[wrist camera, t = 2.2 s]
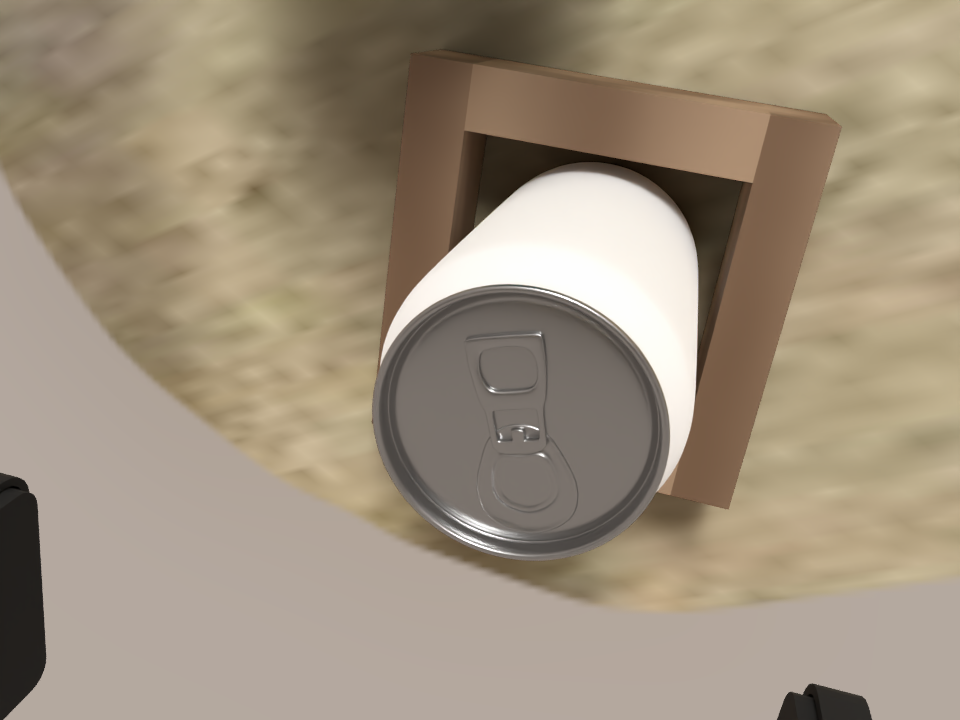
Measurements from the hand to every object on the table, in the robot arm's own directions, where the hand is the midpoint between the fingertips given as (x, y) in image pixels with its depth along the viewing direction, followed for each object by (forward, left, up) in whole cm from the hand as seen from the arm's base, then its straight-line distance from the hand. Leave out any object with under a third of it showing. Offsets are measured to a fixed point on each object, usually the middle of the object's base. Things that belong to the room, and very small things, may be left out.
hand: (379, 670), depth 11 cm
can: (0, 0, -19) cm, 19 cm away
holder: (0, 0, -18) cm, 18 cm away
